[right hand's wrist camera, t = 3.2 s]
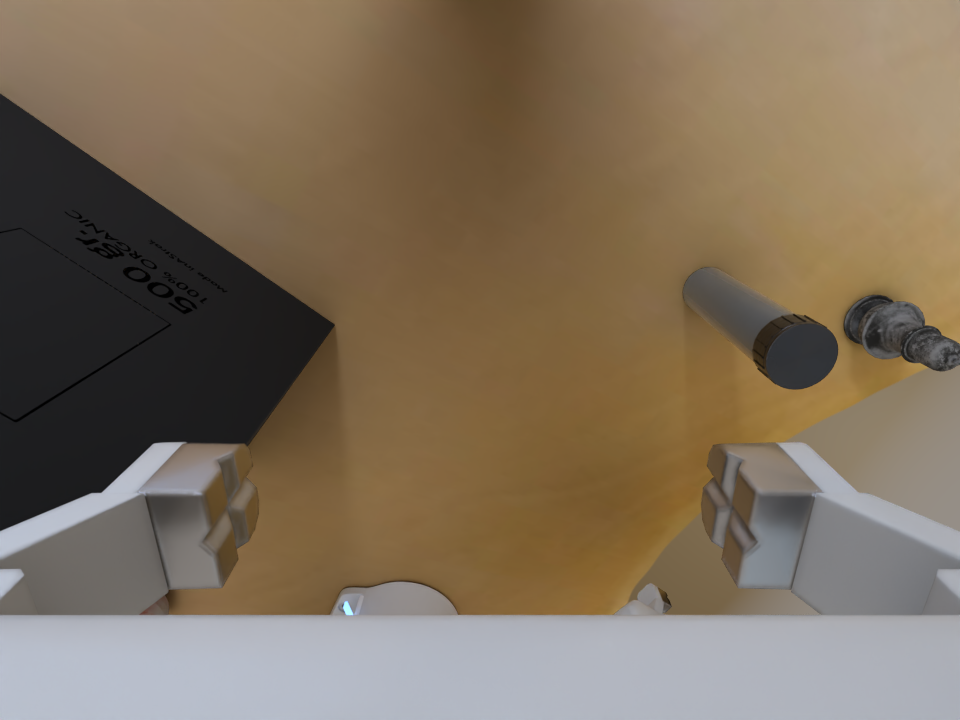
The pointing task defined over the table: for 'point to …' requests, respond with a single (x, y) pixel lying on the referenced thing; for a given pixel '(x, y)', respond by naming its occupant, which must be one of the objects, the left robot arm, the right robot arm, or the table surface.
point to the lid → (795, 351)
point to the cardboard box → (121, 327)
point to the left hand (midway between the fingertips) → (694, 619)
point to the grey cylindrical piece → (730, 306)
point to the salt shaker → (899, 333)
